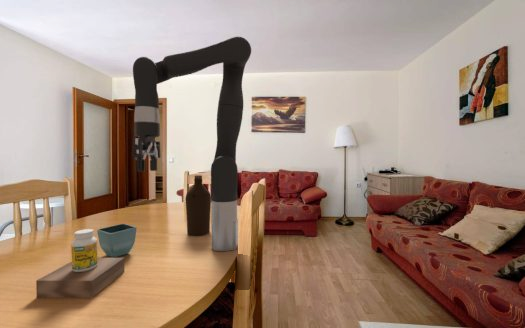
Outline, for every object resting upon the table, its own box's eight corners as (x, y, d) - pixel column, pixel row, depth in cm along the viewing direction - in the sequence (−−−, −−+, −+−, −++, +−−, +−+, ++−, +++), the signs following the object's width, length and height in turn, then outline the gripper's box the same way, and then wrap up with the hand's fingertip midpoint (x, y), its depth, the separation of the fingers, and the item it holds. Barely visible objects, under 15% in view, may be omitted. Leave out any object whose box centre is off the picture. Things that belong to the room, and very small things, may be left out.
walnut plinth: (124, 271, 69) (124, 257, 69) (92, 297, 56) (92, 280, 56) (79, 271, 69) (78, 257, 69) (36, 297, 56) (36, 280, 56)
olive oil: (213, 234, 103) (213, 175, 102) (187, 238, 99) (186, 176, 98) (208, 228, 113) (208, 174, 112) (184, 230, 108) (184, 175, 108)
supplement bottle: (97, 261, 67) (97, 227, 66) (97, 269, 62) (96, 232, 62) (72, 266, 64) (72, 230, 63) (70, 274, 59) (70, 235, 59)
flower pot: (110, 262, 76) (110, 233, 76) (96, 256, 81) (96, 229, 80) (137, 252, 83) (137, 226, 83) (123, 247, 88) (123, 223, 88)
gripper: (148, 118, 73) (148, 172, 73) (167, 125, 87) (167, 170, 87) (123, 118, 73) (124, 172, 73) (146, 125, 87) (146, 170, 87)
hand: (147, 171), depth 80 cm, fingers open, 8 cm apart
